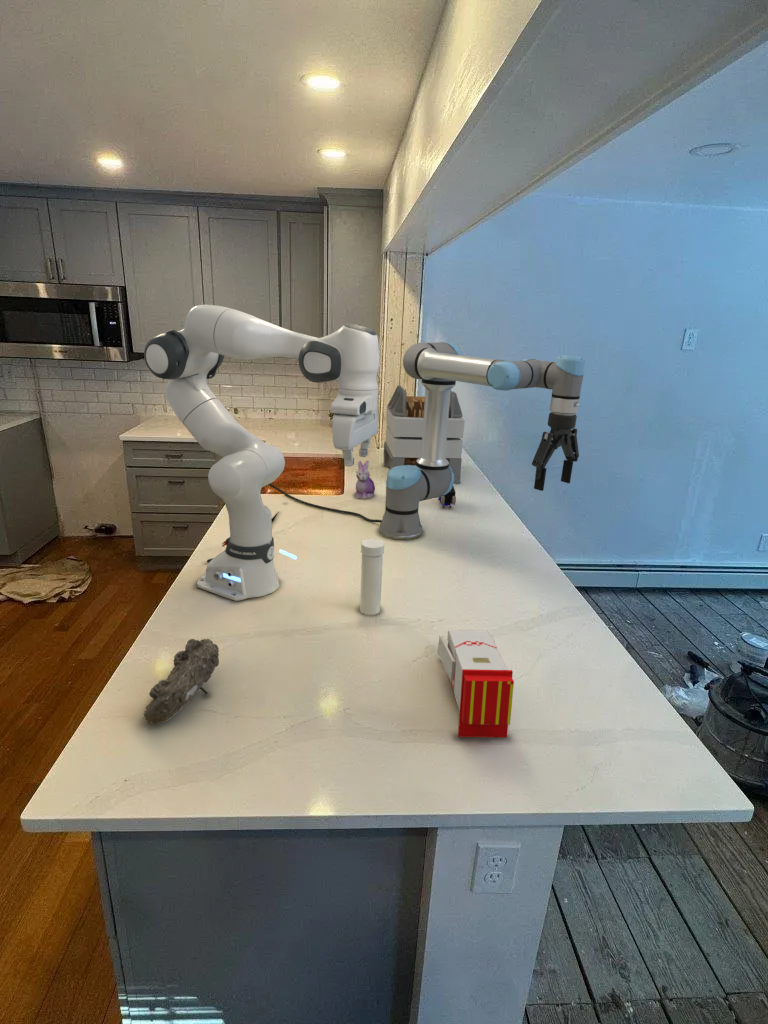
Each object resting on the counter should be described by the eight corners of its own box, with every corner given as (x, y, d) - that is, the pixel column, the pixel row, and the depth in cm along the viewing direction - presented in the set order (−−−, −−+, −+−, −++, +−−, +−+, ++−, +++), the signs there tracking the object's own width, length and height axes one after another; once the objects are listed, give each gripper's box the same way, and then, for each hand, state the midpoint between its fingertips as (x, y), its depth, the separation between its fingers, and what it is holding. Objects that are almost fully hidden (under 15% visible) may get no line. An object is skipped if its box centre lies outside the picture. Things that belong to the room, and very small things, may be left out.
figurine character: (456, 513, 226) (451, 497, 240) (458, 496, 223) (453, 481, 236) (439, 513, 226) (435, 497, 239) (441, 495, 223) (437, 480, 236)
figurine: (359, 500, 232) (360, 465, 227) (349, 493, 240) (350, 458, 235) (380, 498, 236) (381, 463, 231) (369, 490, 244) (370, 457, 239)
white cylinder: (360, 547, 146) (360, 538, 145) (382, 547, 146) (383, 538, 145) (361, 556, 140) (361, 547, 140) (384, 556, 141) (385, 547, 140)
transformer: (382, 463, 289) (386, 382, 275) (445, 464, 293) (451, 384, 279) (390, 482, 257) (394, 392, 243) (460, 483, 261) (468, 394, 247)
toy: (488, 613, 130) (523, 677, 101) (484, 667, 133) (517, 744, 104) (435, 612, 130) (455, 676, 101) (432, 666, 133) (451, 743, 103)
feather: (286, 506, 225) (288, 502, 225) (268, 529, 199) (271, 525, 198) (282, 503, 225) (284, 499, 225) (264, 526, 199) (267, 522, 198)
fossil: (172, 641, 124) (220, 609, 119) (203, 670, 127) (251, 640, 122) (121, 717, 104) (176, 683, 99) (159, 749, 107) (214, 718, 102)
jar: (359, 604, 151) (361, 540, 145) (379, 604, 152) (382, 540, 145) (360, 615, 146) (362, 549, 140) (380, 615, 147) (384, 549, 140)
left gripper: (360, 394, 137) (359, 449, 142) (327, 406, 119) (326, 469, 123) (385, 396, 135) (383, 452, 140) (355, 408, 117) (353, 473, 122)
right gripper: (548, 419, 148) (537, 496, 155) (598, 411, 163) (586, 482, 171) (525, 414, 153) (515, 489, 160) (575, 407, 169) (564, 476, 176)
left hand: (356, 460), depth 132 cm, fingers open, 8 cm apart
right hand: (552, 485), depth 166 cm, fingers open, 13 cm apart
